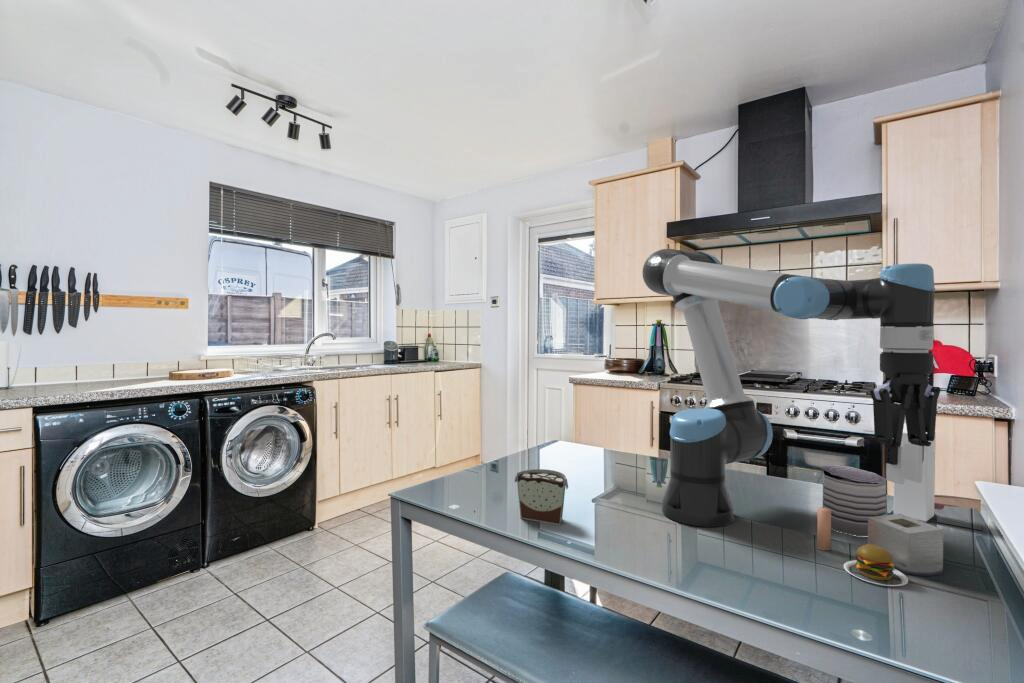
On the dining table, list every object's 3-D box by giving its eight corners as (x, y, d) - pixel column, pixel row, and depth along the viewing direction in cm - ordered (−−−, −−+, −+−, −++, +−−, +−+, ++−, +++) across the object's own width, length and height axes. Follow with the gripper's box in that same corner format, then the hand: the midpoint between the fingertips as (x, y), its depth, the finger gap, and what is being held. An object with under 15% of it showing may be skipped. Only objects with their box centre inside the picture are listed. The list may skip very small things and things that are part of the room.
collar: (908, 568, 85) (908, 533, 85) (867, 549, 93) (867, 517, 93) (942, 563, 87) (943, 529, 87) (899, 545, 94) (900, 513, 94)
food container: (575, 516, 112) (575, 472, 112) (566, 526, 107) (566, 479, 106) (525, 508, 117) (525, 466, 117) (514, 517, 112) (514, 472, 112)
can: (829, 513, 114) (829, 461, 114) (890, 527, 106) (891, 471, 105) (814, 527, 106) (815, 471, 106) (880, 543, 98) (881, 482, 97)
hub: (880, 571, 86) (880, 536, 86) (856, 544, 97) (856, 514, 97) (957, 579, 83) (957, 544, 83) (923, 551, 94) (924, 520, 94)
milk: (926, 522, 109) (928, 421, 108) (892, 514, 113) (894, 417, 113) (934, 515, 112) (936, 418, 112) (901, 508, 117) (903, 414, 116)
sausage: (819, 550, 95) (819, 510, 95) (815, 545, 97) (816, 507, 97) (832, 551, 94) (832, 512, 94) (828, 546, 96) (828, 508, 96)
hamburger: (886, 603, 78) (887, 568, 77) (816, 568, 89) (817, 538, 89) (938, 589, 81) (938, 556, 81) (864, 558, 93) (865, 529, 93)
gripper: (889, 352, 84) (887, 491, 84) (964, 351, 88) (961, 484, 88) (849, 350, 91) (848, 478, 92) (920, 349, 95) (918, 472, 95)
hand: (903, 481), depth 90 cm, fingers open, 3 cm apart
